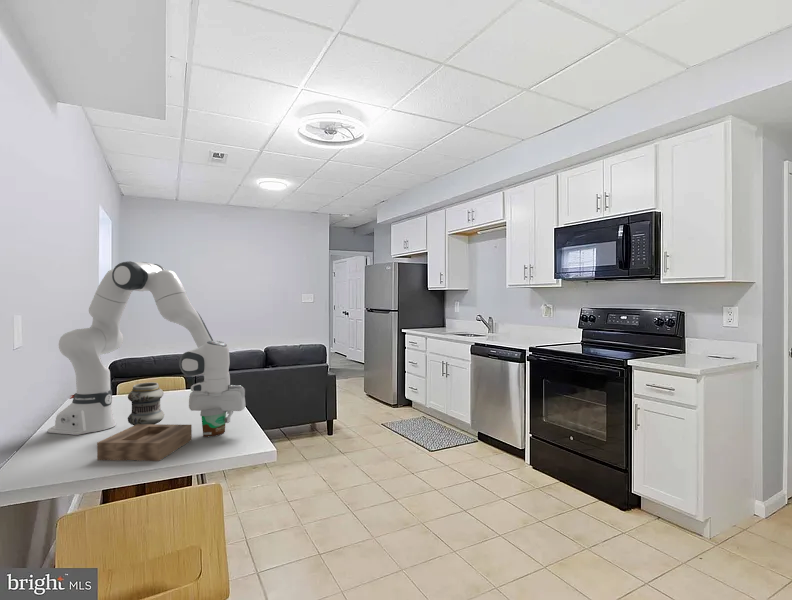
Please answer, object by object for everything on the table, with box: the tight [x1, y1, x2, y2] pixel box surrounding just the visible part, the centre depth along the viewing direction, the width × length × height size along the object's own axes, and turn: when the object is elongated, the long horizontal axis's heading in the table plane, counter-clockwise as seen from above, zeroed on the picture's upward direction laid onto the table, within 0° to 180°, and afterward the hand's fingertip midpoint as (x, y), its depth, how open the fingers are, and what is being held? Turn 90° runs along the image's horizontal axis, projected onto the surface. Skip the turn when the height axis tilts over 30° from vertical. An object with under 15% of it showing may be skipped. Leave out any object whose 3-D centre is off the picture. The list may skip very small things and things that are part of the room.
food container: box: [200, 408, 227, 438], centre depth 170 cm, size 12×6×10 cm, turn 168°
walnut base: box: [96, 423, 193, 462], centre depth 153 cm, size 20×20×6 cm
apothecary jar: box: [127, 381, 165, 426], centre depth 173 cm, size 12×12×18 cm
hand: (217, 422), depth 170 cm, fingers open, 6 cm apart
